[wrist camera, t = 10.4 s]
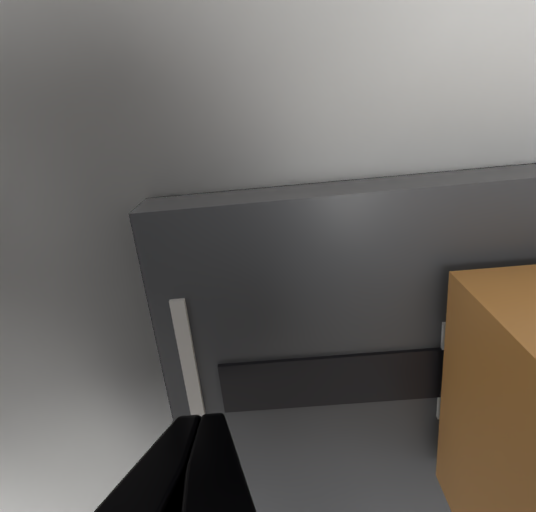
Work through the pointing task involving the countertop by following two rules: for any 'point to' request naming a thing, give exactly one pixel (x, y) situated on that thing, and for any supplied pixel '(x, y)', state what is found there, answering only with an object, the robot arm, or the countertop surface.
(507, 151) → the countertop surface
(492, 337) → the orange fader
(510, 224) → the console
